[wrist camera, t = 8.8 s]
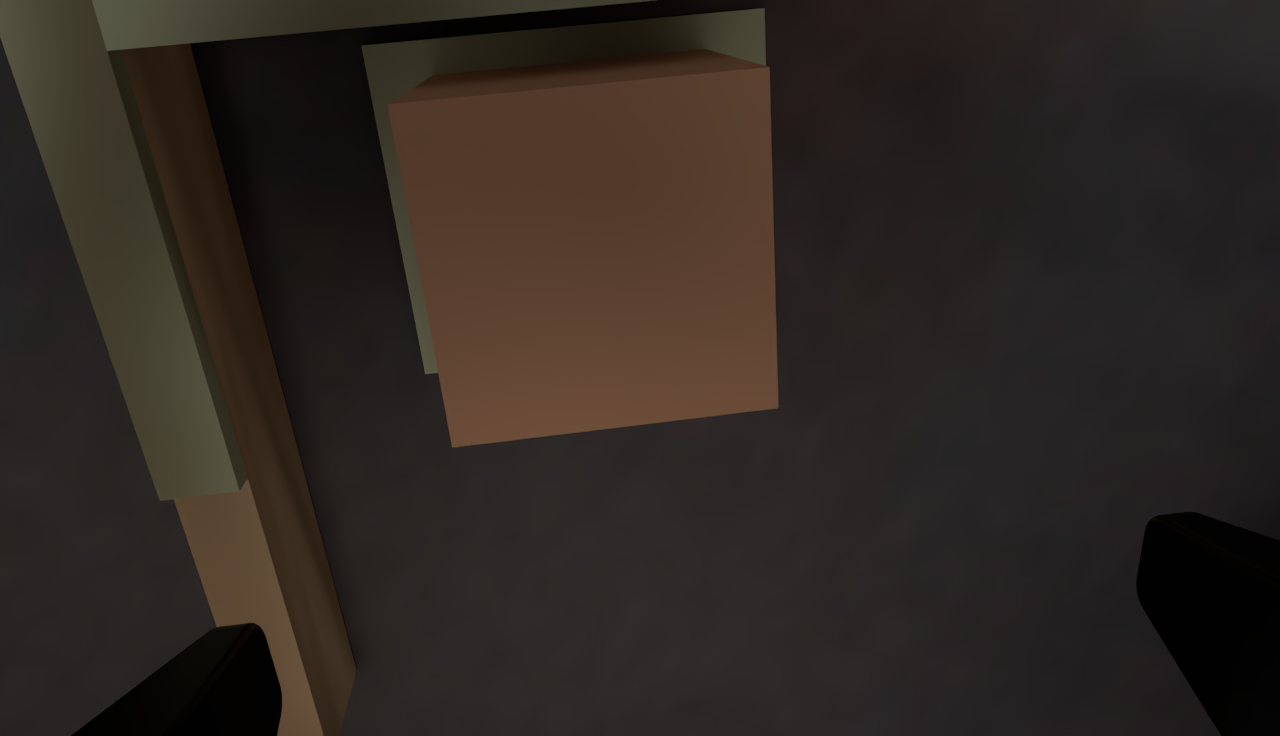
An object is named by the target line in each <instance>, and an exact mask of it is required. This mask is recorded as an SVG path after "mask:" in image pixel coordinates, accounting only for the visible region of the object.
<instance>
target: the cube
mask: <svg viewBox="0 0 1280 736" xmlns="http://www.w3.org/2000/svg"><path fill="white" fill-rule="evenodd" d="M387 105H388V110H389V115H390V121H391V126H392V131H393V136H394V142H395V147H396V152H397V158H398V163H399V168H400V173H401V179H402V184H403V189H404V195H405V200H406V205H407V210H408V216H409V221H410V226H411V232H412V237H413V242H414V247H415V253H416V258H417V263H418V269H419V274H420V279H421V285H422V290H423V295H424V300H425V306H426V311H427V316H428V322H429V327H430V332H431V337H432V343H433V348H434V353H435V359H436V364H437V369H438V374H439V380H440V385H441V390H442V396H443V401H444V406H445V411H446V417H447V422H448V427H449V433H450V438H451V443H452V448H453V447H461V446H469V445H477V444H486V443H494V442H502V441H510V440H519V439H527V438H535V437H544V436H552V435H560V434H568V433H577V432H585V431H593V430H602V429H610V428H618V427H626V426H635V425H643V424H651V423H659V422H668V421H676V420H684V419H693V418H701V417H709V416H717V415H726V414H734V413H742V412H750V411H759V410H767V409H775V408H778V373H777V334H776V296H775V257H774V218H773V180H772V141H771V102H770V67H768V66H764V65H761V64H757V63H753V62H750V61H746V60H743V59H739V58H736V57H732V56H729V55H725V54H722V53H718V52H715V51H711V50H708V49H701V50H691V51H680V52H670V53H659V54H649V55H638V56H628V57H618V58H607V59H597V60H586V61H576V62H565V63H555V64H545V65H534V66H524V67H513V68H503V69H492V70H482V71H472V72H461V73H451V74H440V75H432V76H431V77H429V78H428V79H426V80H425V81H423V82H421V83H420V84H418V85H417V86H415V87H414V88H412V89H411V90H409V91H407V92H406V93H404V94H403V95H401V96H400V97H398V98H397V99H395V100H393V101H392V102H390V103H389V104H387Z"/></svg>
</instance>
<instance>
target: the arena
mask: <svg viewBox="0 0 1280 736" xmlns="http://www.w3.org/2000/svg"><path fill="white" fill-rule="evenodd" d="M644 1H655V0H0V38H1V41H2V44H3V46H4V49H5V52H6V55H7V58H8V61H9V64H10V67H11V70H12V73H13V76H14V78H15V81H16V84H17V87H18V90H19V93H20V96H21V99H22V102H23V105H24V108H25V110H26V113H27V116H28V119H29V122H30V125H31V128H32V131H33V134H34V137H35V140H36V142H37V145H38V148H39V151H40V154H41V157H42V160H43V163H44V166H45V169H46V172H47V174H48V177H49V180H50V183H51V186H52V189H53V192H54V195H55V198H56V201H57V204H58V206H59V209H60V212H61V215H62V218H63V221H64V224H65V227H66V230H67V233H68V236H69V238H70V241H71V244H72V247H73V250H74V253H75V256H76V259H77V262H78V265H79V268H80V270H81V273H82V276H83V279H84V282H85V285H86V288H87V291H88V294H89V297H90V299H91V302H92V305H93V308H94V311H95V314H96V317H97V320H98V323H99V326H100V329H101V331H102V334H103V337H104V340H105V343H106V346H107V349H108V352H109V355H110V358H111V361H112V363H113V366H114V369H115V372H116V375H117V378H118V381H119V384H120V387H121V390H122V393H123V395H124V398H125V401H126V404H127V407H128V410H129V413H130V416H131V419H132V422H133V425H134V427H135V430H136V433H137V436H138V439H139V442H140V445H141V448H142V451H143V454H144V457H145V459H146V462H147V465H148V468H149V471H150V474H151V477H152V480H153V483H154V486H155V489H156V491H157V494H158V497H159V500H160V501H163V500H172V499H174V501H175V504H176V507H177V510H178V513H179V516H180V519H181V522H182V525H183V528H184V531H185V534H186V537H187V540H188V543H189V546H190V549H191V552H192V555H193V558H194V561H195V564H196V567H197V570H198V572H199V575H200V578H201V581H202V584H203V587H204V590H205V593H206V596H207V599H208V602H209V605H210V608H211V611H212V614H213V617H214V620H215V623H216V626H217V627H219V626H227V625H236V624H244V623H255V624H257V625H259V626H260V627H261V628H262V630H263V631H264V633H265V636H266V639H267V642H268V645H269V649H270V652H271V656H272V659H273V662H274V666H275V669H276V672H277V676H278V679H279V683H280V686H281V691H282V713H281V718H280V723H279V729H278V734H277V736H339V732H340V729H341V725H342V722H343V718H344V715H345V711H346V707H347V704H348V700H349V697H350V693H351V690H352V686H353V683H354V679H355V675H356V672H357V669H356V666H355V662H354V658H353V654H352V651H351V647H350V643H349V639H348V636H347V632H346V628H345V624H344V620H343V617H342V613H341V609H340V605H339V602H338V598H337V594H336V590H335V587H334V583H333V579H332V575H331V572H330V568H329V564H328V560H327V557H326V553H325V549H324V545H323V542H322V538H321V534H320V530H319V526H318V523H317V519H316V515H315V511H314V508H313V504H312V500H311V496H310V493H309V489H308V485H307V481H306V478H305V474H304V470H303V466H302V463H301V459H300V455H299V451H298V448H297V444H296V440H295V436H294V432H293V429H292V425H291V421H290V417H289V414H288V410H287V406H286V402H285V399H284V395H283V391H282V387H281V384H280V380H279V376H278V372H277V369H276V365H275V361H274V357H273V354H272V350H271V346H270V342H269V338H268V335H267V331H266V327H265V323H264V320H263V316H262V312H261V308H260V305H259V301H258V297H257V293H256V290H255V286H254V282H253V278H252V275H251V271H250V267H249V263H248V260H247V256H246V252H245V248H244V244H243V241H242V237H241V233H240V229H239V226H238V222H237V218H236V214H235V211H234V207H233V203H232V199H231V196H230V192H229V188H228V184H227V181H226V177H225V173H224V169H223V166H222V162H221V158H220V154H219V150H218V147H217V143H216V139H215V135H214V132H213V128H212V124H211V120H210V117H209V113H208V109H207V105H206V102H205V98H204V94H203V90H202V87H201V83H200V79H199V75H198V72H197V68H196V64H195V60H194V56H193V53H192V49H191V45H190V43H198V42H209V41H220V40H231V39H242V38H253V37H263V36H274V35H285V34H296V33H307V32H318V31H329V30H340V29H350V28H361V27H372V26H383V25H394V24H405V23H416V22H427V21H437V20H448V19H459V18H470V17H481V16H492V15H503V14H514V13H525V12H535V11H546V10H557V9H568V8H579V7H590V6H601V5H612V4H622V3H633V2H644ZM361 47H362V52H363V58H364V63H365V68H366V73H367V78H368V83H369V88H370V93H371V99H372V104H373V109H374V114H375V119H376V124H377V129H378V135H379V140H380V145H381V150H382V155H383V160H384V165H385V170H386V176H387V181H388V186H389V191H390V196H391V201H392V206H393V211H394V217H395V222H396V227H397V232H398V237H399V242H400V247H401V252H402V258H403V263H404V268H405V273H406V278H407V283H408V288H409V293H410V299H411V304H412V309H413V314H414V319H415V324H416V329H417V334H418V340H419V345H420V350H421V355H422V360H423V365H424V370H425V374H431V373H438V369H437V364H436V359H435V353H434V348H433V343H432V337H431V332H430V327H429V322H428V316H427V311H426V306H425V300H424V295H423V290H422V285H421V279H420V274H419V269H418V263H417V258H416V253H415V247H414V242H413V237H412V232H411V226H410V221H409V216H408V210H407V205H406V200H405V195H404V189H403V184H402V179H401V173H400V168H399V163H398V158H397V152H396V147H395V142H394V136H393V131H392V126H391V121H390V115H389V110H388V105H387V104H389V103H390V102H392V101H393V100H395V99H397V98H398V97H400V96H401V95H403V94H404V93H406V92H407V91H409V90H411V89H412V88H414V87H415V86H417V85H418V84H420V83H421V82H423V81H425V80H426V79H428V78H429V77H431V76H432V75H440V74H451V73H461V72H472V71H482V70H492V69H503V68H513V67H524V66H534V65H545V64H555V63H565V62H576V61H586V60H597V59H607V58H618V57H628V56H638V55H649V54H659V53H670V52H680V51H691V50H701V49H708V50H711V51H715V52H718V53H722V54H725V55H729V56H732V57H736V58H739V59H743V60H746V61H750V62H753V63H757V64H761V65H764V66H766V44H765V8H758V9H747V10H737V11H726V12H715V13H704V14H694V15H683V16H672V17H662V18H651V19H640V20H629V21H619V22H608V23H597V24H586V25H576V26H565V27H554V28H543V29H533V30H522V31H511V32H500V33H490V34H479V35H468V36H458V37H447V38H436V39H425V40H415V41H404V42H393V43H382V44H372V45H362V46H361Z"/></svg>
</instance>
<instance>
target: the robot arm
mask: <svg viewBox="0 0 1280 736" xmlns="http://www.w3.org/2000/svg"><path fill="white" fill-rule="evenodd" d="M1136 586H1137V594H1138V598H1139V601H1140V603H1141V605H1142V607H1143V609H1144V611H1145V613H1146V614H1147V616H1148V618H1149V619H1150V621H1151V622H1152V624H1153V626H1154V627H1155V629H1156V631H1157V632H1158V634H1159V636H1160V637H1161V639H1162V640H1163V642H1164V644H1165V645H1166V647H1167V649H1168V650H1169V652H1170V654H1171V655H1172V657H1173V658H1174V660H1175V662H1176V663H1177V665H1178V667H1179V668H1180V670H1181V672H1182V673H1183V675H1184V676H1185V678H1186V680H1187V681H1188V683H1189V685H1190V686H1191V688H1192V690H1193V691H1194V693H1195V694H1196V696H1197V698H1198V699H1199V701H1200V703H1201V704H1202V706H1203V708H1204V709H1205V711H1206V712H1207V714H1208V716H1209V717H1210V719H1211V720H1212V722H1213V723H1214V725H1215V726H1216V728H1217V729H1218V731H1219V732H1220V734H1221V736H1280V541H1279V540H1276V539H1273V538H1270V537H1267V536H1264V535H1261V534H1258V533H1255V532H1252V531H1249V530H1246V529H1243V528H1240V527H1237V526H1235V525H1232V524H1229V523H1226V522H1223V521H1220V520H1217V519H1214V518H1211V517H1208V516H1205V515H1202V514H1199V513H1195V512H1182V513H1174V514H1166V515H1158V516H1155V517H1154V518H1152V519H1151V520H1150V521H1149V522H1148V524H1147V525H1146V529H1145V533H1144V539H1143V545H1142V551H1141V557H1140V562H1139V568H1138V574H1137V581H1136ZM281 713H282V691H281V686H280V683H279V679H278V676H277V672H276V669H275V666H274V662H273V659H272V656H271V652H270V649H269V645H268V642H267V639H266V636H265V633H264V631H263V630H262V628H261V627H260V626H259V625H257V624H255V623H244V624H236V625H227V626H219V627H216V628H213V629H211V630H210V631H209V632H207V633H206V634H204V635H203V636H202V637H201V638H199V639H198V640H197V641H195V642H194V643H193V644H191V645H190V646H189V647H187V648H186V649H185V650H183V651H182V652H181V653H179V654H178V655H177V656H175V657H174V658H173V659H172V660H170V661H169V662H168V663H166V664H165V665H164V666H162V667H161V668H160V669H158V670H157V671H156V672H154V673H153V674H152V675H150V676H149V677H148V678H146V679H145V680H144V681H143V682H141V683H140V684H139V685H137V686H136V687H135V688H133V689H132V690H131V691H129V692H128V693H127V694H125V695H124V696H123V697H121V698H120V699H119V700H117V701H116V702H115V703H113V704H112V705H111V706H110V707H108V708H107V709H106V710H104V711H103V712H102V713H100V714H99V715H98V716H96V717H95V718H94V719H92V720H91V721H90V722H88V723H87V724H86V725H84V726H83V727H82V728H80V729H79V730H78V731H77V732H75V733H74V734H73V735H71V736H277V734H278V729H279V723H280V718H281Z"/></svg>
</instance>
